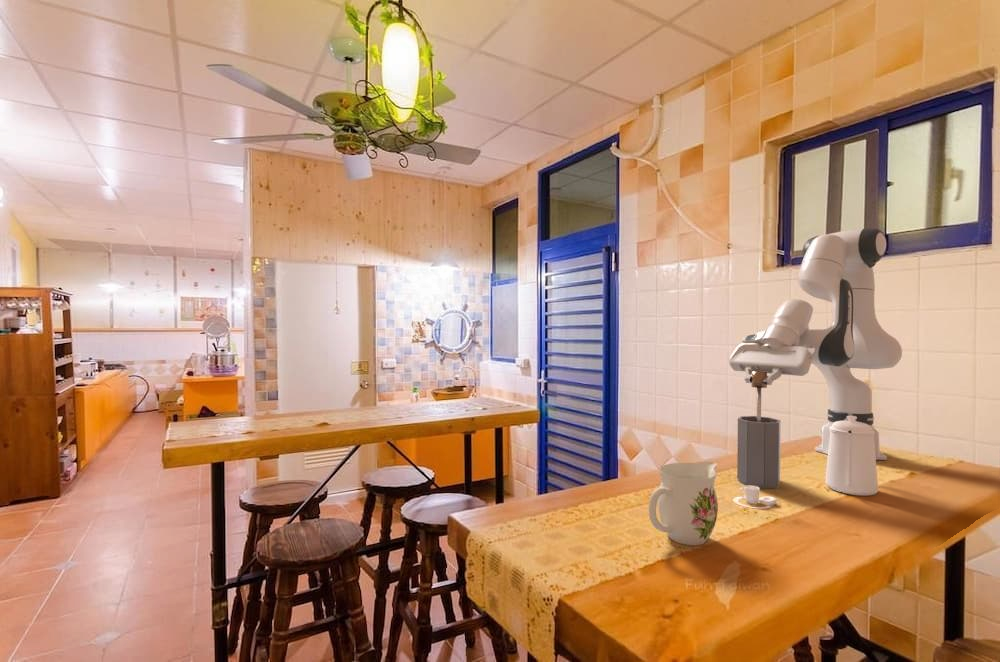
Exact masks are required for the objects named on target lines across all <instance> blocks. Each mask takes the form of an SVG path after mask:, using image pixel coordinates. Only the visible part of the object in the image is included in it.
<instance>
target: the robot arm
mask: <svg viewBox="0 0 1000 662" xmlns="http://www.w3.org/2000/svg"><path fill="white" fill-rule="evenodd" d="M886 250H887V239H886V236H885V233H884V232H883V231H882V230H880V229H879V228H873V227H865V228H863V229H859V228H858V229H847V230H840V231H838V232H837V231H836V232H831V233H827V234H820V235H815V236H813V237H811V238H808V240H807V241H806V242H805V243H804V245H803V246H802V252H801V253H802V258H803V259H802V262H801V264H800V268H799V271H798V274H797V275H798V277H797V281H798V284H799V286H800V288H801V290H802V291H804V292H805V293H806V294H807V295H809V296H811V297H813V298H816V299H820V300H823V301H826V302H829V303H831V313H832V314H831V325H830V326H829V327H828V328H825V329H820V328H819V329H810V328H809V326H810V325H809V324H810V322H811V319H812V316H813V311H814V307H813V305H811V304H810V303H809V302H807V301H806V300H803V299H788V300H786V301H784V302H783V303H781V304H780V305H779V307H778V308H777V310H776V311H775V313H774V314H773V316H772V318H771V320H770V323H769V325H768V326H767V327H766V328H765V330H763V331H759V332H756V333H752V334H747V335H744V336H743V337H742V339H741V343H740V344H739V345H737V346H736V348H734V351H733V352H732V353H731V354H730V357H729V358H728V363H729V366H730V367H731V369H732V370H733V371H735V372H743V373H744V372H745V374H746V375H745V377H744V381H745V383H747V384H752V371H762V372H767V374H769V375H767V376H765V377H764V379H763V382H764V384H765V385H767V386H771V385H772V384H773V382H774V381H776V380H778V379H779V378H781V376H782V375H783V376H784V375H785V376H798V377H799V376H800V377H804V376H805V375H807V374H809V371H810V368H811V364H812V365H814V366H815V367H816V368H817V369H819V371H820V372H821V373H822V375H823V377H824V378H825V380H826V384H827V387H828V396H829V397H828V398H829V400H828V401H829V409H827V415H826V416H827V423H825V424H824V425H822V427H821V443H820V444H818V445H817V446H815V447H814V451H815V452H819V453H823V454H825V455H828V449H829V439H830V430H829V429H830V427H831V426H832V424H833V423H834V422H836V421H849V419H848V418H847V416H856V417H857V419H855V421H856V422H862V423H865V424H868V425H869V426H871V428H872V430H873V431H874V432H875V435H874V445H875V457H876V461H878V460H886V461H887V460H888V456H887V455H886V454H885V453H883V452H882V451H881V450H880V432H879V431H878V430H877V429H876V428H875V427H874V420H875V418H874V413H873V412H872V405H873V404H872V403H873V401H872V399H873V396H872V395H873V394H872V393H873V391H872V389H871V387H870V386H869V385H868V384H867V383H866V382H864V381H862V380H861V379H858V378H856V377H855V376H854V375H853V373H852V371H851V369H860V370H861V369H862V370H866V369H867V370H880V369H881V370H883V369H890V368H894V367H896V365H898V363H899V362H900V361H901V359H902V355H903V348H902V345H901V344H900V342H899V341H898V339H896V338H895V337H894V336H893V335H891V334H889V333H888V332H887V331H885V329H883V328H882V325H880V324H879V321H878V319H877V315H876V311H875V310H876V309H875V276H874V275H875V273H874V270H873V269H874V268H873V267H875V266H876V265H877V263H878V262H879V261H880V260H881V259H883V257H884V256H885V253H886Z"/></svg>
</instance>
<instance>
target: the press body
mask: <svg viewBox="0 0 1000 662" xmlns="http://www.w3.org/2000/svg"><path fill="white" fill-rule="evenodd" d="M781 421H782V420H780V419H776V418H773V417H770V416H768V417H767V416H761V422H757V415H747V416H746V415H743V416H738V418H737V465H736V469H737V471H736V472H737V473H736V475H737V477H736V479H737V480H738V482H739V484H742V485H744V486H746V485H752V486H757V487H759V488H760V489H766V490H768V489H769V490H771V489H772V488H773V489H778V488H779V487H780V482H781V423H782V422H781ZM777 487H778V488H777Z"/></svg>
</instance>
